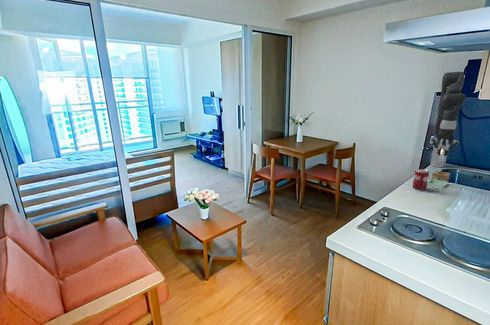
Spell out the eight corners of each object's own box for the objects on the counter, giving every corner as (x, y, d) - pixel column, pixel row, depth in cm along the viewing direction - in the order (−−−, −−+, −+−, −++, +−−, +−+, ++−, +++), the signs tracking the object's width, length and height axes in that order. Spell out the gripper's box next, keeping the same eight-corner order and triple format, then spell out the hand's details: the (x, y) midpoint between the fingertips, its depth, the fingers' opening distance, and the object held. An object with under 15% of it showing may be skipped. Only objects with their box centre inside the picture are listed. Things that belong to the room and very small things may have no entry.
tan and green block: (434, 176, 179) (435, 170, 178) (450, 180, 173) (451, 173, 171) (428, 181, 171) (430, 174, 170) (445, 185, 165) (446, 177, 163)
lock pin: (439, 161, 161) (441, 147, 159) (444, 162, 159) (446, 148, 157) (437, 162, 160) (440, 148, 157) (442, 163, 158) (445, 149, 155)
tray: (430, 182, 170) (431, 178, 170) (447, 185, 164) (447, 181, 163) (425, 186, 164) (426, 182, 163) (442, 189, 158) (443, 186, 157)
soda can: (425, 187, 161) (429, 169, 158) (426, 191, 156) (429, 173, 152) (412, 185, 165) (415, 168, 162) (412, 189, 159) (415, 171, 156)
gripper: (463, 128, 151) (457, 156, 156) (435, 126, 161) (430, 152, 166) (461, 129, 146) (454, 158, 151) (432, 127, 156) (427, 154, 161)
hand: (442, 155), depth 158 cm, fingers closed on lock pin, 2 cm apart
